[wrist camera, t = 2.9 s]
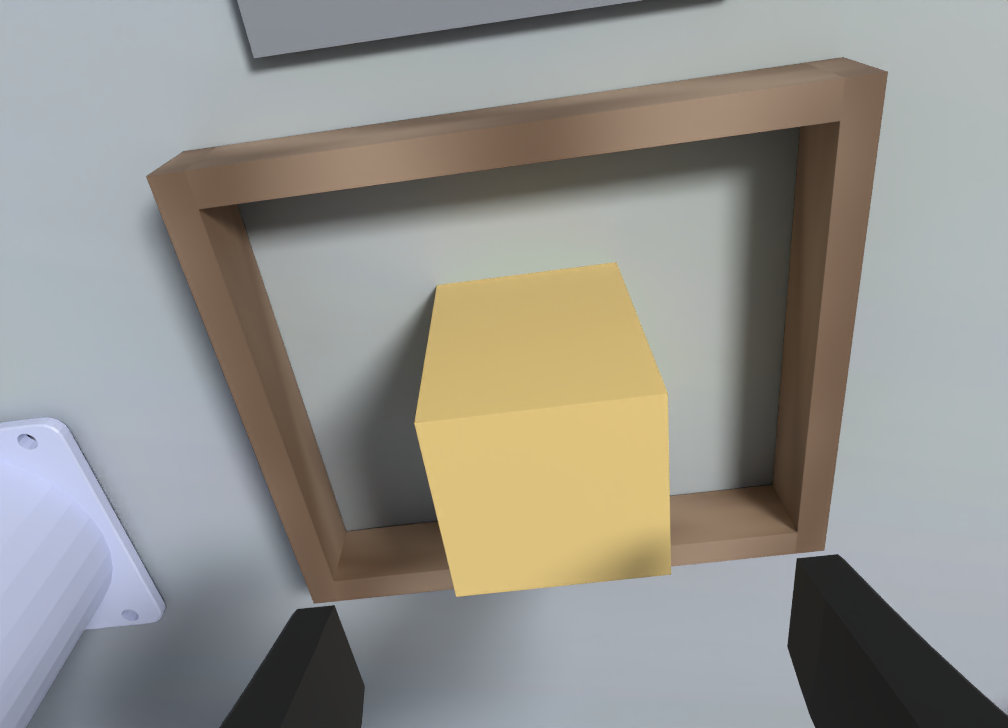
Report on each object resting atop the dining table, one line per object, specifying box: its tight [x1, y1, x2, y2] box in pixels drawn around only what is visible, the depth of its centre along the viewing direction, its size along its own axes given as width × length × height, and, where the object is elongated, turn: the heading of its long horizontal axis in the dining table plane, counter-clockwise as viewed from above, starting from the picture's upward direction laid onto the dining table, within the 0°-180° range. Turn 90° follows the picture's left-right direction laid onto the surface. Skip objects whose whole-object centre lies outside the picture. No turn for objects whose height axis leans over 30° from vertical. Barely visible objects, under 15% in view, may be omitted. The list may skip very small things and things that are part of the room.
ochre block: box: [414, 262, 671, 597], centre depth 16 cm, size 4×4×6 cm
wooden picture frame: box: [146, 57, 888, 603], centre depth 18 cm, size 15×13×2 cm
